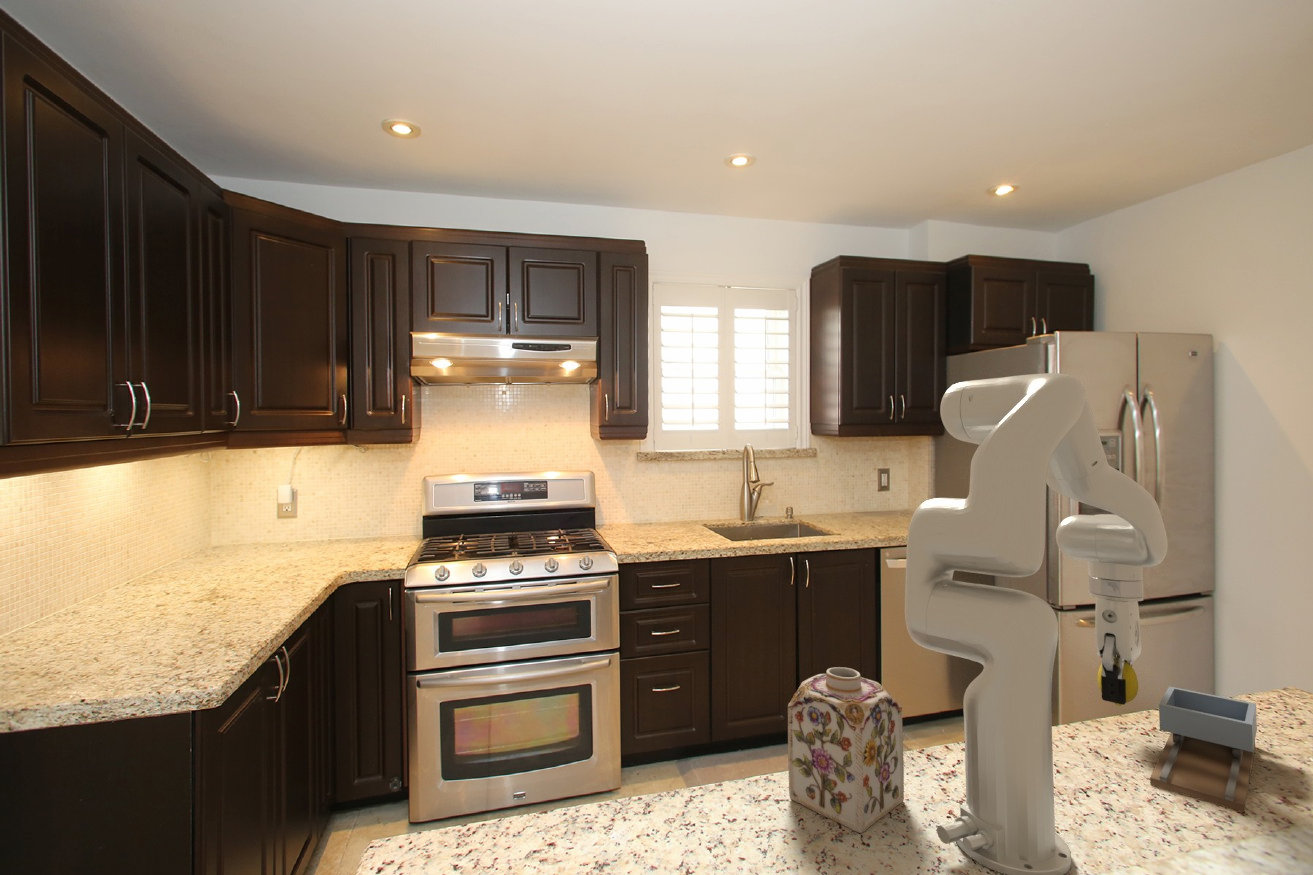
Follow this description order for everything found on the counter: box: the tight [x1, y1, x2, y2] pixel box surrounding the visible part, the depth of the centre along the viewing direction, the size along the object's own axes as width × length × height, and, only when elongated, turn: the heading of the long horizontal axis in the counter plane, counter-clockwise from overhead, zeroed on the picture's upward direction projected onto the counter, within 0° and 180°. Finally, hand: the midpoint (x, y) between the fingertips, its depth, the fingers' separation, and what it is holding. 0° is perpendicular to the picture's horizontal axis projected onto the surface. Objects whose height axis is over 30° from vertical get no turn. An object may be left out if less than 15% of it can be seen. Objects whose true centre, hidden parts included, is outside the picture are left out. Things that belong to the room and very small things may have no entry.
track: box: [1149, 732, 1256, 813], centre depth 97 cm, size 26×10×4 cm, turn 134°
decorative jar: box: [787, 666, 905, 834], centre depth 89 cm, size 12×12×18 cm
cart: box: [1158, 685, 1258, 759], centre depth 100 cm, size 11×11×6 cm
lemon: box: [1097, 657, 1139, 707], centre depth 106 cm, size 6×6×8 cm
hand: (1117, 695), depth 106 cm, fingers closed on lemon, 5 cm apart
